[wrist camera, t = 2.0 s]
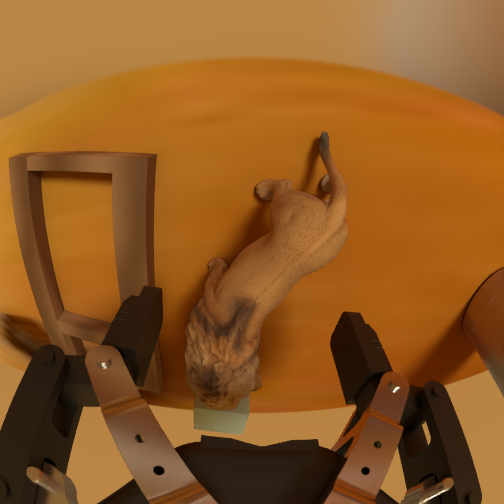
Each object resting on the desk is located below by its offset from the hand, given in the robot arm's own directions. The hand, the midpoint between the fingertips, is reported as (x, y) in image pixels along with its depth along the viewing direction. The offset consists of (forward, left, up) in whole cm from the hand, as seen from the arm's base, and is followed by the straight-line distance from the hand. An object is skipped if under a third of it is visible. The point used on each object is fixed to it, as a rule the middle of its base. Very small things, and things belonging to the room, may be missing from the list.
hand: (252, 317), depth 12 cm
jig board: (+13, +6, -7) cm, 15 cm away
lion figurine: (-1, 0, -7) cm, 7 cm away
